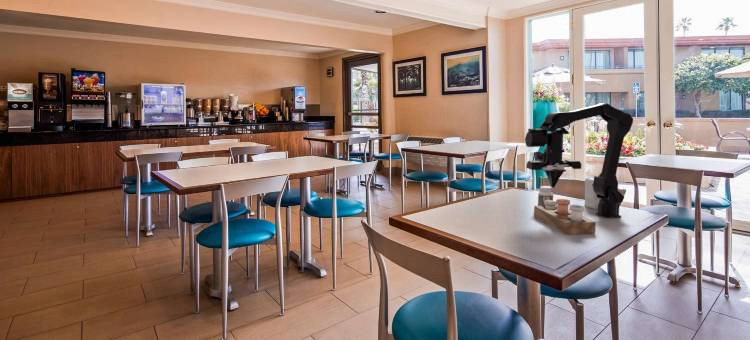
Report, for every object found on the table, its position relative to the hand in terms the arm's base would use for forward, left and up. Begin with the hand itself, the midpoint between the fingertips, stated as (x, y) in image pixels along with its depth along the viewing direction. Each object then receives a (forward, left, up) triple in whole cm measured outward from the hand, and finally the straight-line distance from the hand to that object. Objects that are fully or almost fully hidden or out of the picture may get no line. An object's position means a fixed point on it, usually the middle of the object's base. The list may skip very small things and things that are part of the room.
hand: (552, 187), depth 157 cm
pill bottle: (-3, -12, -12) cm, 17 cm away
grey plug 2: (0, +18, -9) cm, 20 cm away
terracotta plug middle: (0, +8, -9) cm, 12 cm away
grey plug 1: (0, -1, -12) cm, 12 cm away
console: (0, +8, -12) cm, 15 cm away
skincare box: (-25, -15, -12) cm, 32 cm away
